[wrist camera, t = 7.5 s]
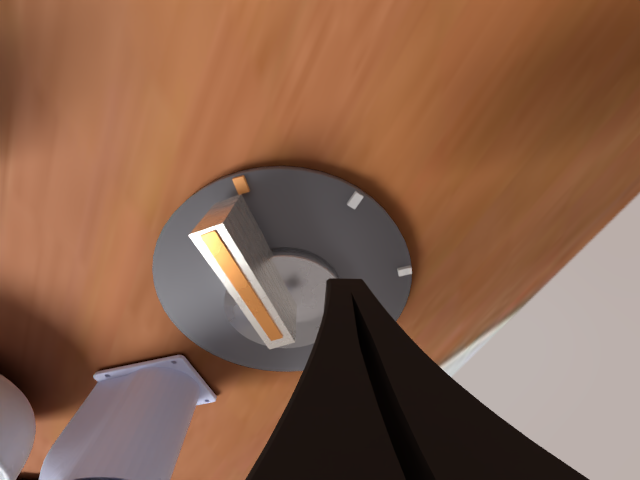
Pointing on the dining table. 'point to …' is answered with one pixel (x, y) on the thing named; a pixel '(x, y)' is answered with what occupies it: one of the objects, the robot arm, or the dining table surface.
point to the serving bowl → (14, 429)
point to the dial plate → (279, 231)
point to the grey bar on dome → (263, 278)
